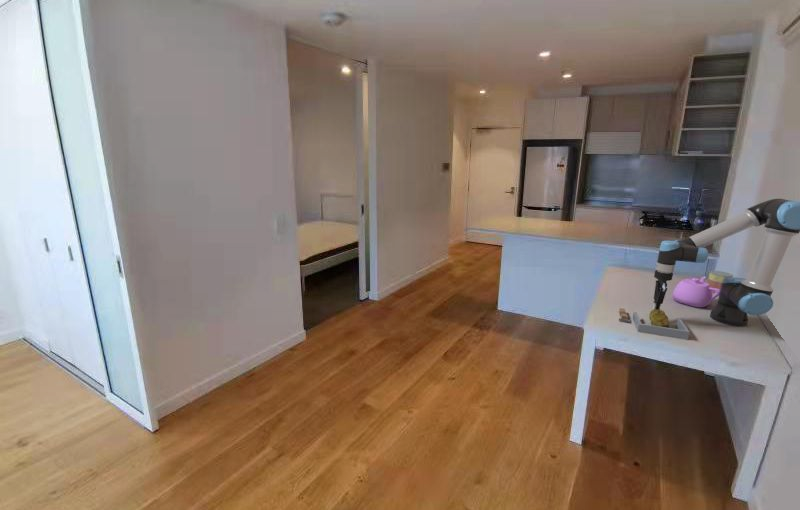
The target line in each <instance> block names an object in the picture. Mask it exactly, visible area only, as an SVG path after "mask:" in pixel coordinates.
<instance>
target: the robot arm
mask: <svg viewBox="0 0 800 510" xmlns="http://www.w3.org/2000/svg"><path fill="white" fill-rule="evenodd" d="M763 225H764V227H763V228H764V230H765V231H766V233H765V236H764V238H763V240H762V242H761V245H760V248H759V250H758V252H757V254H756V257H755V259H754V261H753V263H752V265H751V269H750V270H749V273H748V276H747V278H742V277H726V278H724V279H723V282H722V286H721V290H720V294H719V296H718V299H717V303H716V304H715V306H714V307H713V308H712V310H710V314H709V317H710V318H711V319H712V320H714V321H715V322H718V323H721V324H725V325H729V326H735V327H745V326H748V322H749V316H748V315H751V316H761V315H764V314H766V313H768V312H770V311H771V309H772V308H773V306H774V300H773V298H772V297H771V296H772V294H773V292H774V289H773V287H772V283H773V281H774V279H775V276H776V274H777V272H778V271H779V267H780V265H781V263H782V261H783V259H784V256H785V254H786V252H787V250H788V248H789V245H790V243H791V241H792V239H793V237H795V236H797V235H799V234H800V201H798V200H790V199H785V198H773V199H769V200H768V199H767V200H765V201H763V202H760V203H757V204H755V205H753V206H751V207H749V208H745V209H744V211H743V212H742V213H739V214H738V215H736V216H733V217H730V218H729V219H727V220H725V221H722V222H720V223H718V224H716V225H713V226H712V227H709V228H707V229H705V230H702V231H700V232H698V233H695V234H693V235H691V236H688V237H686V238H683V239H675V240H663V241H661V243H660V244H659V245H660V246H659V249H658V255H657V260H656V263H655V270H654V275H653V278H654V279H656V280H655V287H654V295H653V299H654V300H653V305H652V310H655V309H660V310H661V306H662V304H663V303H664V300H665V298H666V297H665V296H666V293H667V291H668V288H667V287H668V282H667V281H669V282H670V281H672V280H673V277H674V272H675V268H676V263H677V262H683V263H684V262H686V263H696V264H697V263H698V264H700V263H701V264H703V263H705V262H706V261H707V260H708V258H709V257H708V256H709V252H708V249H707V248H705V247H707V246H710V245H713V244H715V243H716V242H719V241H721V240H724V239H726V238H728V237H730V236H733V235H736V234H738V233H741V232H743V231H745V230H748V229H749V228H752V227H760V226H763Z"/></svg>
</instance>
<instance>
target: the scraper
mask: <svg viewBox="0 0 800 510" xmlns="http://www.w3.org/2000/svg"><path fill="white" fill-rule="evenodd" d="M618 313H619V316H620V317H619V318H618V321H619V322H620V323H626V324H631V320H630V319H628V314H627V311H626V309H625V308H622V307H621V308H619V311H618Z"/></svg>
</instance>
